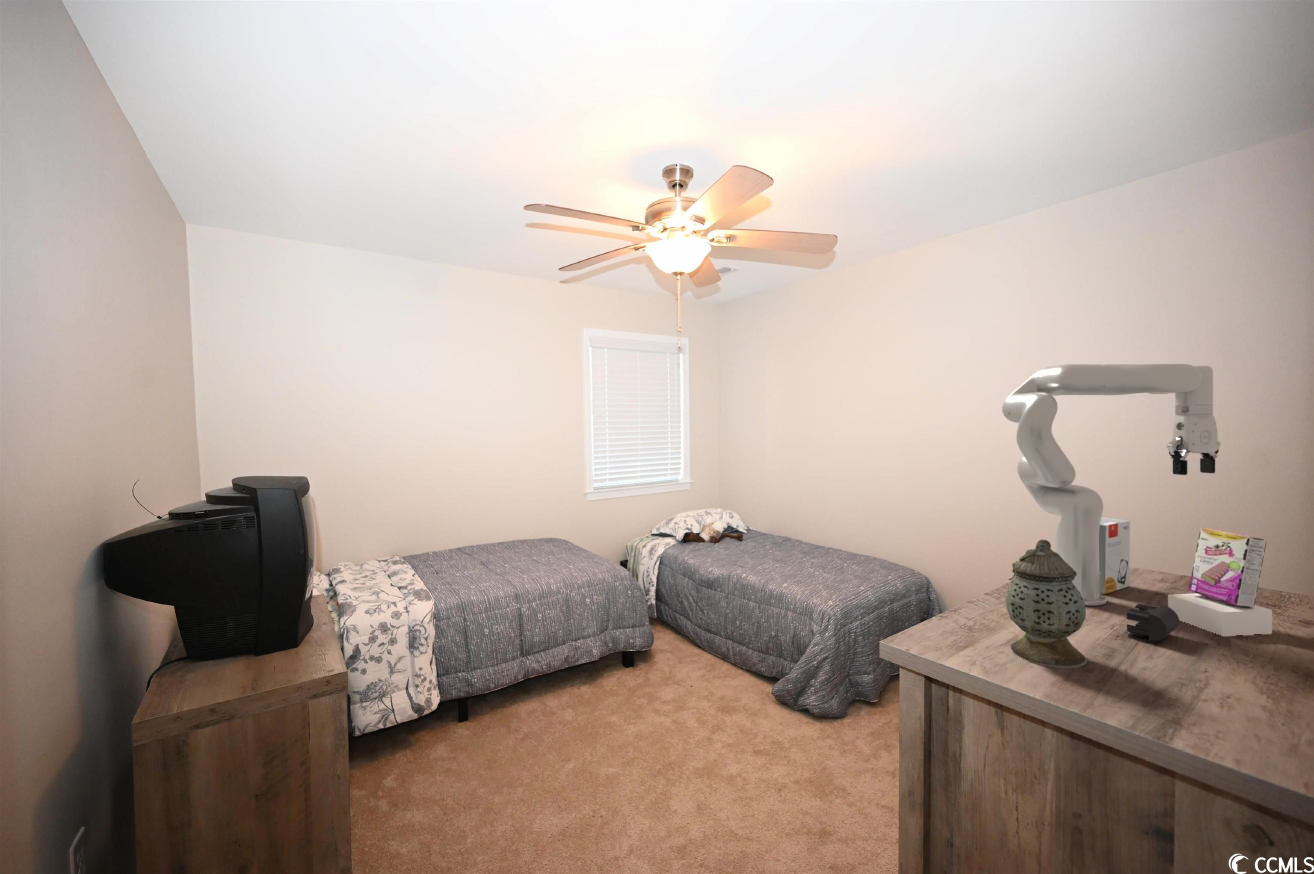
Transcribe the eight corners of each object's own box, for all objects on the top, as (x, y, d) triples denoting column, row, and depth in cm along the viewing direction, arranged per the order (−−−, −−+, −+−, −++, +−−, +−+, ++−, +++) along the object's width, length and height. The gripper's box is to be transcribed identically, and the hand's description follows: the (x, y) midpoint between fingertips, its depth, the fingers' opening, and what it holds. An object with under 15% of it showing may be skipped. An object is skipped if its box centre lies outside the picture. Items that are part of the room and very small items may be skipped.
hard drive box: (1105, 595, 158) (1104, 525, 158) (1074, 588, 165) (1073, 521, 164) (1130, 586, 166) (1130, 519, 165) (1100, 580, 172) (1100, 516, 172)
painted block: (1223, 638, 128) (1223, 612, 128) (1168, 618, 141) (1168, 594, 141) (1272, 635, 129) (1272, 609, 129) (1212, 616, 142) (1212, 592, 142)
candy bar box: (1186, 591, 140) (1198, 526, 140) (1204, 594, 140) (1216, 530, 140) (1236, 605, 129) (1249, 535, 129) (1255, 609, 129) (1268, 539, 129)
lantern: (1046, 672, 113) (1045, 549, 112) (991, 645, 127) (990, 535, 126) (1104, 664, 115) (1103, 544, 115) (1043, 638, 129) (1043, 531, 129)
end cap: (1166, 647, 123) (1166, 617, 123) (1126, 638, 129) (1126, 609, 128) (1179, 636, 129) (1179, 607, 128) (1140, 628, 134) (1139, 600, 134)
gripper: (1184, 411, 147) (1184, 476, 148) (1234, 410, 151) (1234, 473, 152) (1154, 412, 155) (1154, 474, 155) (1202, 410, 158) (1202, 471, 159)
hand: (1193, 473), depth 153 cm, fingers open, 9 cm apart
